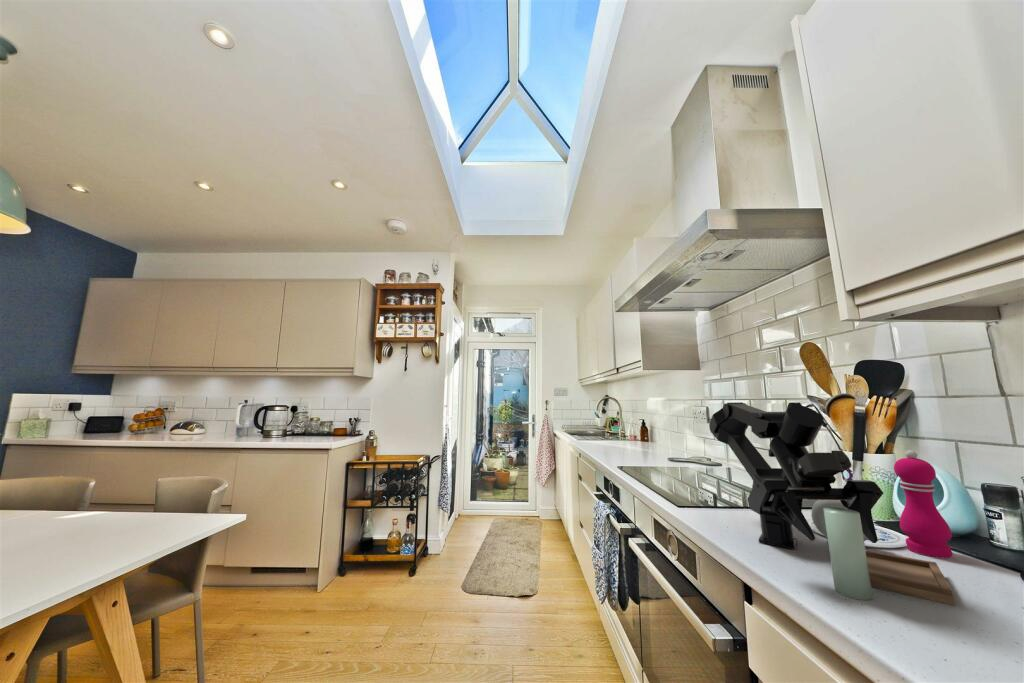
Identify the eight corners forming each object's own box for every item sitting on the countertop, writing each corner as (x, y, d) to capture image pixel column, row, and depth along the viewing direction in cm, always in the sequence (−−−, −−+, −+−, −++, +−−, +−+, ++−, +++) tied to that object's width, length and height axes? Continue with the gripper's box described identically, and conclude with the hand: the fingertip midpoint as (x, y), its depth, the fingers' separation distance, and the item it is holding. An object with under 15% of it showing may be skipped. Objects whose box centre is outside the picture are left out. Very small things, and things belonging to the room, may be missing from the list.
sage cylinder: (834, 583, 64) (823, 505, 66) (871, 591, 61) (859, 510, 63) (834, 593, 60) (822, 511, 62) (873, 603, 57) (860, 516, 59)
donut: (875, 547, 79) (867, 497, 80) (877, 552, 76) (868, 500, 78) (814, 537, 85) (808, 491, 87) (814, 541, 82) (807, 494, 84)
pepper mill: (900, 542, 81) (884, 447, 84) (951, 550, 77) (931, 449, 80) (906, 553, 76) (888, 451, 79) (961, 562, 71) (939, 453, 74)
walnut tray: (841, 556, 75) (839, 545, 75) (938, 574, 66) (935, 562, 67) (841, 579, 65) (839, 567, 65) (954, 605, 57) (952, 590, 57)
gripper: (755, 434, 72) (797, 512, 59) (865, 434, 69) (934, 515, 56) (742, 470, 78) (777, 547, 65) (842, 472, 75) (899, 552, 63)
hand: (844, 540), depth 62 cm, fingers open, 9 cm apart
